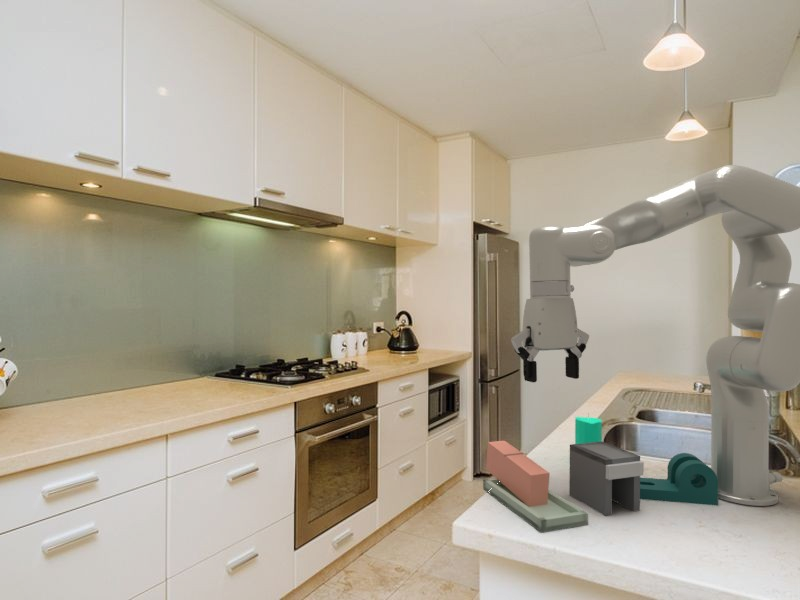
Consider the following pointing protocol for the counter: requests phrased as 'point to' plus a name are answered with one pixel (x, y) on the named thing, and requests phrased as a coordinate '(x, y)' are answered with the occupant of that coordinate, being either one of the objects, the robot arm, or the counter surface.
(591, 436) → the candle
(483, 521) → the counter surface
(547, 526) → the tray
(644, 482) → the bracket
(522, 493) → the terracotta pink bar
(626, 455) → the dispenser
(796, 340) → the robot arm
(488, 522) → the counter surface
